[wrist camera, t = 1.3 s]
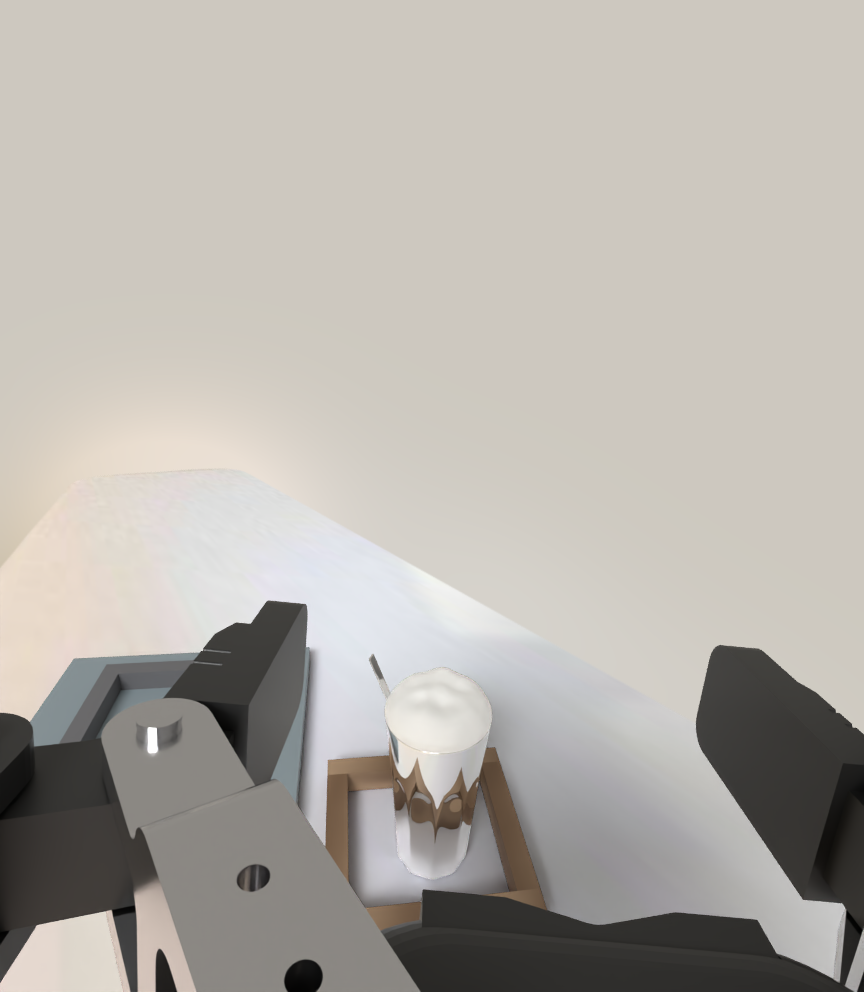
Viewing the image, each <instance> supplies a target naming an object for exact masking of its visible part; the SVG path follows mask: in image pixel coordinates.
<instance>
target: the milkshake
mask: <svg viewBox="0 0 864 992" xmlns="http://www.w3.org/2000/svg"><path fill="white" fill-rule="evenodd" d="M369 661H370V664H371V666H372V668H373V671H374V673H375V675H376V677H377V680H378V682H379V684H380V687H381V689H382V691H383V694H384V696H385V698H386V700H387V701H386V705H385V720H386V729H387V738H388V747H389V756H390V765H391V773H392V784H393V797H394V811H395V826H396V840H397V853H398V857H399V859H400V860H401V861H402V863H403V864H404V865H405V866H406V868H407V869H408V870H409V872H410V873H411V874H414V875H417V876H420V877H424V878H427V879H430V880H435V879H438V878H441V877H444V876H447V875H451V874H453V873H454V872H455V871H456V869H457V868H458V866H459V865H460V863H461V862H462V861H463V859H464V858H465V856H466V851H467V846H468V840H469V835H470V829H471V824H472V818H473V813H474V807H475V802H476V796H477V791H478V785H479V779H480V774H481V769H482V764H483V759H484V755H485V750H486V746H487V741H488V737H489V732H490V727H491V723H492V708H491V705H490V702H489V700H488V698H487V696H486V695H485V693H484V692H483V690H482V689H481V688H480V686H479V685H478V684H477V683H476V682H475V681H473V680H472V679H470V678H469V677H466V676H464V675H462V674H459V673H457V672H455V671H453V670H451V669H448V668H445V667H440V668H435V669H432V670H430V671H427V672H421V673H416V674H413V675H411V676H409V677H407V678H406V679H404V680H403V681H402V682H400V683H399V684H398V685H397V686H396V687H395V688H394V689H393V691H392V692H391V693H390V691H389V689H388V686H387V684H386V682H385V679H384V677H383V675H382V672H381V670H380V668H379V666H378V663H377V661H376V659H375V656H374V654H372V655H371V657H370V658H369Z"/></svg>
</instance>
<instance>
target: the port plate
mask: <svg viewBox="0 0 864 992" xmlns="http://www.w3.org/2000/svg"><path fill="white" fill-rule="evenodd" d="M198 654H199V653H182V654H161V655H140V656H119V657H99V658H78V659H73V661H72V662H71V664H70V665H69V667H68V668H67V670H66V671H65V672H64V674H63V675H62V677H61V678H60V680H59V681H58V683H57V684H56V685H55V687H54V688H53V690H52V691H51V693H50V694H49V696H48V697H47V698H46V700H45V701H44V703H43V704H42V706H41V707H40V709H39V710H38V711H37V713H36V714H35V716H34V717H33V719H32V720H31V721H30V724H31V725H32V727H33V736H34V746H43V745H52V744H61V743H70V742H79V741H87V740H93V739H98V738H101V735H102V731H103V729H104V727H105V725H106V724H107V723H108V722H109V721H110V720H111V719H112V718H113V717H114V716H115V715H117V714H118V713H120V712H122V711H123V710H125V709H127V708H129V707H131V706H134V705H136V704H139V703H143V702H146V701H150V700H155V699H163V697H164V696H165V695H166V694H167V693H168V691H169V690H170V689H171V688H172V686H173V685H174V684H175V683H176V681H177V680H178V679H179V678H180V677H181V675H182V674H183V673H184V672H185V670H186V669H187V668H188V667H189V665H190V664H193V662H194V659H195V658H196V657H197V656H198ZM309 664H310V651H309V647H307V648H306V650H305V668H304V682H303V690H302V696H301V701H300V705H299V708H298V712H297V714H296V717H295V719H294V722H293V724H292V727H291V729H290V732H289V734H288V737H287V739H286V742H285V744H284V747H283V749H282V752H281V754H280V757H279V759H278V762H277V764H276V767H275V769H274V772H273V775H272V777H271V780H272V779H277V780H279V781H280V782H281V783H282V784H283V785H284V786H285V787H286V789H287V790H288V792H289V793H290V795H291V796H292V798H293V799H294V801H295V802H296V804H297V805H298V794H299V783H300V771H301V759H302V747H303V735H304V723H305V711H306V699H307V687H308V676H309Z"/></svg>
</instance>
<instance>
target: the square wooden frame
mask: <svg viewBox="0 0 864 992" xmlns="http://www.w3.org/2000/svg"><path fill="white" fill-rule="evenodd" d="M479 780H480V784H481V788H482V791H483V795H484V799H485V802H486V806H487V810H488V813H489V817H490V821H491V825H492V828H493V832H494V836H495V839H496V843H497V847H498V851H499V854H500V858H501V862H502V865H503V869H504V873H505V877H506V880H507V884H508V888H509V891H510V892H503V893H494V894H485V895H488V896H499V897H507V898H510V899H513V900H516V901H519V902H522V903H526V904H529V905H532V906H535V907H538V908H541V909H544V910H547V908H546V905H545V902H544V899H543V895H542V892H541V889H540V886H539V883H538V880H537V877H536V874H535V871H534V867H533V864H532V861H531V858H530V855H529V852H528V849H527V846H526V842H525V839H524V836H523V833H522V830H521V827H520V824H519V821H518V818H517V814H516V811H515V808H514V805H513V802H512V799H511V796H510V793H509V789H508V786H507V783H506V780H505V777H504V774H503V771H502V768H501V765H500V761H499V758H498V755H497V752H496V749H495V748H486V750H485V755H484V759H483V764H482V769H481V774H480V779H479ZM382 788H393V784H392V773H391V765H390V756H376V757H362V758H349V759H336V760H328V778H327V812H326V846H325V848H326V849H327V851H328V852H329V854H330V855H331V857H332V858H333V860H334V861H335V863H336V864H337V866H338V868H339V869H340V871H341V872H342V874H343V875H344V877H345V878H346V880H347V881H348V883H349V875H348V791H358V790H370V789H382ZM420 909H421V902H414V903H405V904H396V905H387V906H378V907H369V908H366V910H367V911H368V913H369V914H370V916H371V917H372V919H373V921H374V922H375V924H376V925H377V927H378V928H379V930H380V931H381V930H383V929H385V928H389V927H392V926H395V925H399V924H402V923H406V922H411V921H416V920H419V918H420Z"/></svg>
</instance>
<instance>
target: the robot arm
mask: <svg viewBox="0 0 864 992" xmlns="http://www.w3.org/2000/svg"><path fill="white" fill-rule="evenodd" d="M306 633H307V606H306V604H299V603H288V602H278V601H267V602H266V603H265V605H264V606H263V607H262V609H261V610H260V612H259V613H258V614H257V616H256V617H255V619H254V620H253V622H252V623H251V624H245V623H234V624H233V625H231V626H229V627H227V628H225V629H223V630H221V631H220V632H218V633H216V634H215V635H214V636H213V637H212V638H211V640H210V641H209V642H208V643H207V645H206V646H205V647H204V648H203V651H201V652H200V653H199V654H198V656H197V657H196V658H195V659H194V662H193V664H190V665H189V667H188V668H187V669H186V670H185V672H184V673H183V674H182V675H181V677H180V678H179V679H178V680H177V681H176V683H175V684H174V685H173V686H172V688H171V689H170V690H169V691H168V693H167V694H166V695H165V696H164V697H163V699H155V700H150V701H146V702H143V703H139V704H136V705H134V706H131V707H129V708H127V709H125V710H123V711H122V712H120V713H118V714H117V715H115V716H114V717H113V718H112V719H111V720H110V721H109V722H108V723H107V724H106V725H105V727H104V729H103V731H102V735H101V738H98V739H93V740H87V741H79V742H70V743H61V744H52V745H43V746H34V736H33V727H32V725H31V724H30V722H29V721H28V720H26V719H25V718H23V717H20V716H18V715H14V714H8V713H0V982H1V981H2V979H3V978H4V976H5V974H6V973H7V971H8V970H9V968H10V967H11V965H12V964H13V962H14V960H15V959H16V957H17V956H18V954H19V953H20V951H21V949H22V948H23V946H24V945H25V943H26V942H27V940H28V938H29V937H30V935H31V934H32V932H33V931H34V929H35V927H36V926H37V925H39V924H44V923H49V922H54V921H59V920H64V919H69V918H74V917H79V916H84V915H89V914H94V913H99V912H104V911H106V915H107V920H108V925H109V929H110V934H111V938H112V943H113V947H114V952H115V956H116V961H117V965H118V970H119V974H120V979H121V983H122V988H123V992H864V734H863V733H861V732H860V731H859V730H858V729H857V728H853V727H852V724H851V723H850V722H849V721H848V720H847V719H846V718H844V717H843V716H842V715H841V714H840V713H836V710H835V709H834V708H833V707H832V706H831V705H830V704H828V703H827V702H826V701H825V700H824V699H823V698H821V697H820V696H819V695H818V694H817V693H816V692H814V691H812V690H811V689H809V688H807V687H805V686H804V685H802V684H800V683H798V682H797V681H796V680H794V678H792V677H791V676H790V675H789V674H788V673H787V672H786V671H784V670H783V669H782V668H781V667H780V666H779V665H778V664H777V663H776V662H774V661H773V660H772V659H771V658H770V657H769V656H768V655H766V654H765V653H764V652H763V651H762V650H760V649H755V648H744V647H734V646H723V645H719V646H717V647H715V649H714V650H713V652H712V653H711V656H710V660H709V664H708V668H707V673H706V677H705V682H704V686H703V691H702V695H701V700H700V704H699V709H698V713H697V718H696V732H697V738H698V742H699V745H700V748H701V750H702V751H703V753H704V754H705V756H706V757H707V759H708V760H709V762H710V763H711V765H712V766H713V768H714V769H715V771H716V772H717V774H718V775H719V777H720V778H721V780H722V781H723V782H724V784H725V785H726V787H727V788H728V790H729V791H730V793H731V794H732V796H733V797H734V799H735V800H736V802H737V803H738V805H739V806H740V808H741V809H742V810H743V812H744V813H745V815H746V816H747V818H748V819H749V821H750V822H751V824H752V825H753V827H754V828H755V830H756V831H757V833H758V834H759V835H760V837H761V838H762V840H763V841H764V843H765V844H766V846H767V847H768V849H769V850H770V852H771V853H772V855H773V856H774V858H775V859H776V861H777V862H778V863H779V865H780V866H781V868H782V869H783V871H784V872H785V874H786V875H787V877H788V878H789V880H790V881H791V883H792V884H793V886H794V887H795V889H796V890H797V891H798V893H799V894H800V896H801V897H802V899H803V900H812V901H823V902H834V903H842V904H843V905H844V906H845V910H844V913H843V916H842V919H841V923H840V926H839V930H838V939H837V948H836V958H835V968H834V978H833V979H832V978H830V977H829V976H827V975H825V974H823V973H821V972H819V971H817V970H815V969H813V968H811V967H809V966H807V965H804V964H802V963H800V962H797V961H795V960H792V959H790V958H788V957H785V956H782V955H779V954H776V952H775V950H774V948H773V947H772V945H771V943H770V942H769V940H768V938H767V936H766V935H765V933H764V931H763V929H762V928H761V926H760V924H759V922H758V921H757V920H754V919H743V918H732V917H720V916H709V915H698V914H687V913H676V912H675V913H669V914H664V915H658V916H652V917H646V918H641V919H635V920H629V921H623V922H618V923H612V924H606V925H593V924H589V923H585V922H582V921H579V920H576V919H573V918H570V917H566V916H563V915H560V914H557V913H554V912H551V911H548V910H544V909H541V908H538V907H535V906H532V905H529V904H526V903H522V902H519V901H516V900H513V899H510V898H507V897H499V896H488V895H477V894H466V893H455V892H444V891H433V890H423V892H422V901H421V909H420V918H419V920H416V921H411V922H406V923H402V924H399V925H395V926H392V927H389V928H385V929H383V930H381V931H380V930H379V928H378V927H377V925H376V924H375V922H374V921H373V919H372V917H371V916H370V914H369V913H368V911H367V910H366V908H365V907H364V905H363V904H362V902H361V901H360V899H359V898H358V896H357V895H356V893H355V892H354V890H353V889H352V887H351V886H350V884H349V883H348V881H347V880H346V878H345V877H344V875H343V874H342V872H341V871H340V869H339V868H338V866H337V864H336V863H335V861H334V860H333V858H332V857H331V855H330V854H329V852H328V851H327V849H326V848H325V846H324V845H323V843H322V842H321V840H320V839H319V837H318V836H317V834H316V833H315V831H314V830H313V828H312V827H311V825H310V824H309V822H308V821H307V819H306V818H305V816H304V815H303V813H302V811H301V810H300V808H299V807H298V805H297V804H296V802H295V801H294V799H293V798H292V796H291V795H290V793H289V792H288V790H287V789H286V787H285V786H284V785H283V784H282V783H281V782H280V781H279V780H277V779H272V780H271V777H272V775H273V772H274V769H275V767H276V764H277V762H278V759H279V757H280V754H281V752H282V749H283V747H284V744H285V742H286V739H287V737H288V734H289V732H290V729H291V727H292V724H293V722H294V719H295V717H296V714H297V712H298V708H299V705H300V701H301V696H302V690H303V682H304V668H305V650H306Z"/></svg>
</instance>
